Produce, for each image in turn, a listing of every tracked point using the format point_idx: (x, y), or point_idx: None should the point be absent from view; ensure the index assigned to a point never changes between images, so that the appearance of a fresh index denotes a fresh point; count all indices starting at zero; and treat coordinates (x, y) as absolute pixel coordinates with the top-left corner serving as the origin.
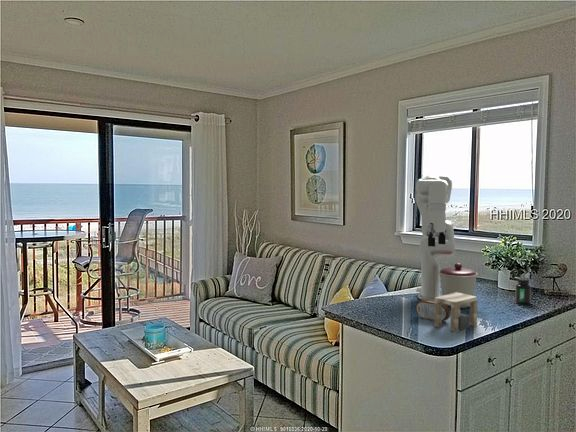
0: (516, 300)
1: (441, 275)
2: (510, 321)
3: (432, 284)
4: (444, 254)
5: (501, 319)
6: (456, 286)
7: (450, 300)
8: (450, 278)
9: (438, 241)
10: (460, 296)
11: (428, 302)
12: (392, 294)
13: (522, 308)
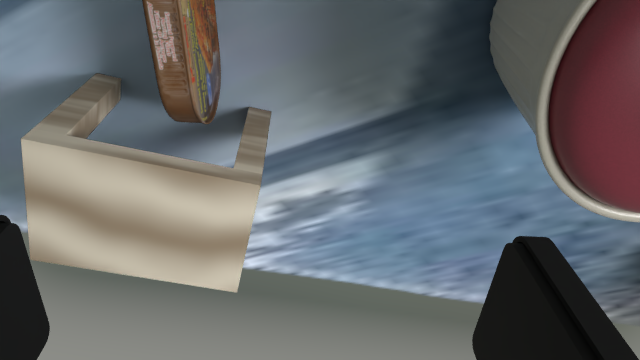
0: None
1: None
2: (394, 268)
3: None
4: None
5: (404, 240)
6: (521, 86)
7: (43, 229)
8: (544, 63)
9: (544, 270)
10: (174, 236)
11: (146, 21)
12: None
13: (620, 255)
